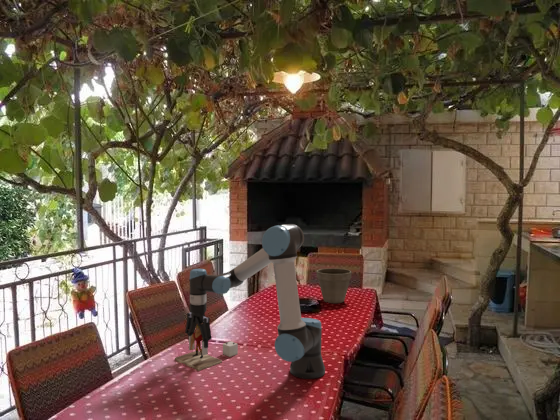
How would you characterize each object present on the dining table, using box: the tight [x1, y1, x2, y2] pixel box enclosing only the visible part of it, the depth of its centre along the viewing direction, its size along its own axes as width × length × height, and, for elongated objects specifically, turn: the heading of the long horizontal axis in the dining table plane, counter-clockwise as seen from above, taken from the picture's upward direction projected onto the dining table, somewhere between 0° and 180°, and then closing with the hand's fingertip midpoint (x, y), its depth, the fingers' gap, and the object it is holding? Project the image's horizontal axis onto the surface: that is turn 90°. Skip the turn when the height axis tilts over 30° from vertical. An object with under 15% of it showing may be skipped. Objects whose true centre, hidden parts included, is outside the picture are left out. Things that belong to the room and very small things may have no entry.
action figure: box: [189, 324, 203, 359], centre depth 203 cm, size 10×4×15 cm, turn 61°
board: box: [174, 350, 223, 372], centre depth 203 cm, size 18×13×1 cm
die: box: [222, 341, 239, 358], centre depth 212 cm, size 5×5×6 cm
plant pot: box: [316, 267, 352, 304], centre depth 316 cm, size 25×25×22 cm
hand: (198, 351), depth 203 cm, fingers closed on action figure, 9 cm apart
